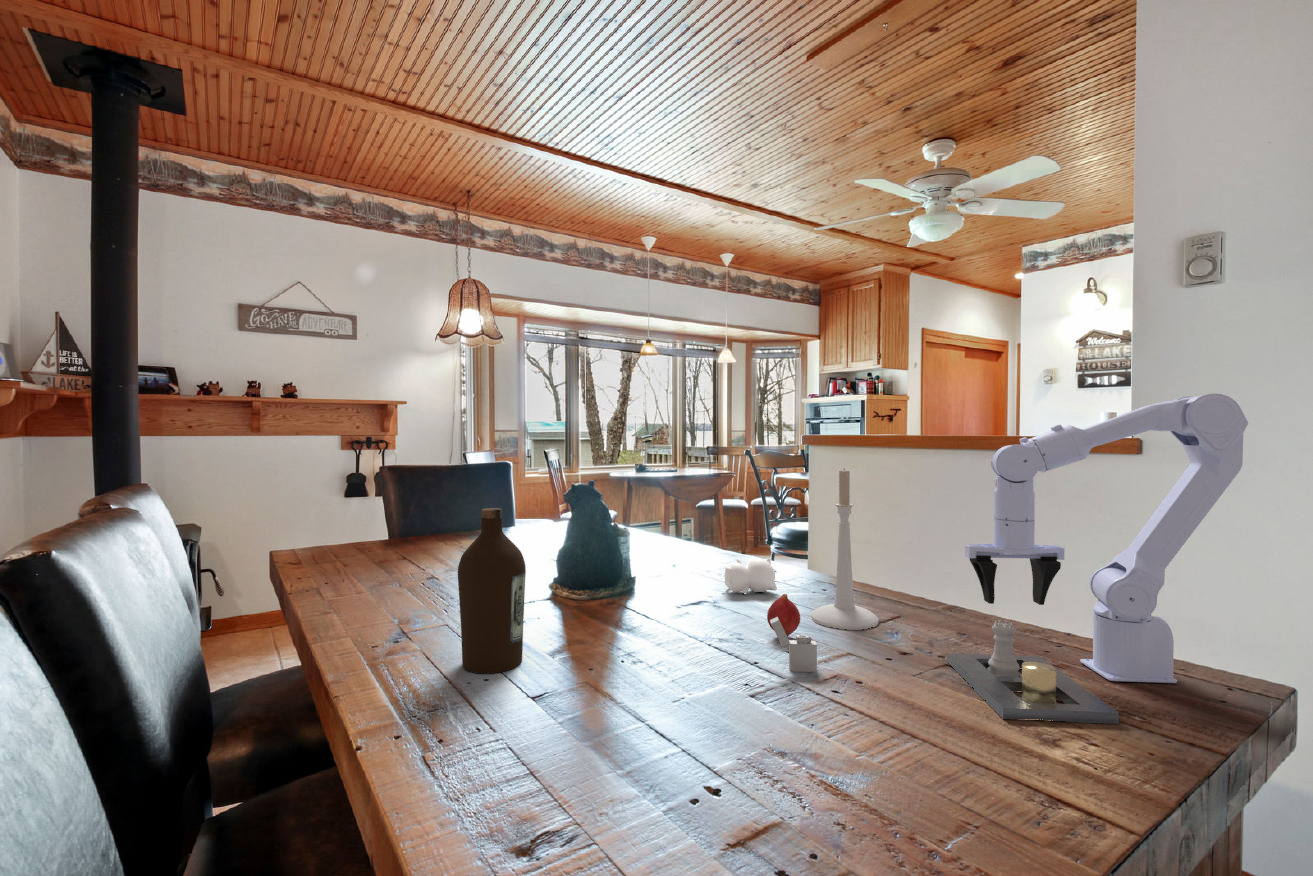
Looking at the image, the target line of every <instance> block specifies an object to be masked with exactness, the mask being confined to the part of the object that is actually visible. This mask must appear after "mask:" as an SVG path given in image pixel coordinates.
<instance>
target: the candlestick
mask: <svg viewBox="0 0 1313 876" xmlns="http://www.w3.org/2000/svg"><path fill="white" fill-rule="evenodd" d="M850 476H851V475H850V470H846V469H845V468H843V470H838V503H835V504H834V505H835V506H836V508H837V514H838V515H839V519H840V520H839V522H838V538H837V539H838V540H837V558H836V575H835V576H836V577H835V595H834V602H833V603H831V604H824V605H822V606H819V607H817V608H815V609H814V610H813V611H812V612H811V613H810V619H811V618H812V619H811V620H812V621H813V622H814V623H815V624H817V623H818V625H820V624H821V625H820V626H823V625H824V626H823V627H827V628H830V627H833V628H832V629H836V628H839V629H838V630H844V629H847V630H846V631H861V630H862V629H864V630H869V629H868V628H870V629H872V628H871V627H873V628H875V627H877V626H879V621H880V619H879V618H878V616H877V615H875V613H873V612H872V611H870V610H869V609H867V608H865V607H861V606H859V605H856V604H855V600H854V583H853V571H852V570H853V567H852V545H851V529H850V527H851V526H850V525H851V523H850V521H849V517H850V515H851V514H852V507H854V504H853V503H851V502H850V500H851V499H850V495H851V494H850V490H851V489H850V483H851V482H850V479H851V478H850Z"/></svg>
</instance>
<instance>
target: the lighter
mask: <svg viewBox="0 0 1313 876" xmlns="http://www.w3.org/2000/svg"><path fill="white" fill-rule="evenodd" d="M770 622H771V625H772V627H773V629H774V630H773V629H772V630H773V632H774V633H775V636H776V637H777V640H778V641H779V643H780V646H781V647H783V648H784V647H785V646H788V669H789V672H808V673H817V672H818V643H817V641H816V640H813V639H812V637H811V636H810V635H807V634H806V635H805V634H803V635H802V634H796V636H795V637H796V639H795V640H794V639H789V636H788V637H787V635H786V633H785V631H784V629H783V627H782V625H781V623H780V621H779V619H778V617H776V618H774V619H771V620H770Z"/></svg>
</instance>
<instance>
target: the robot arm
mask: <svg viewBox="0 0 1313 876" xmlns="http://www.w3.org/2000/svg"><path fill="white" fill-rule="evenodd" d="M1248 424H1249V422H1248V419H1247V417H1246V415H1245V414H1244V412H1243V410H1242V408H1241V406H1240V405H1239V403H1238V402H1237V400H1235V399H1233V398H1232V397H1230V396H1229V395H1226V394H1223V393H1215V392H1213V393H1207V394H1202V395H1196V396H1191V395H1189V396H1188V395H1187V396H1186V395H1185V396H1182V397H1177V398H1176V399H1173V400H1166V401H1160V402H1155V403H1151V404H1148V405H1147V404H1146V405H1144V406H1141V407H1138V408H1136V409H1133V410H1131V411H1128V412H1125V413H1122V414H1120V415H1116V416H1115V417H1112V418H1109V419H1106V420H1104V421H1101V422H1098V423H1096V424H1093V425H1090V426H1087V427H1085V428H1083V429H1082V428H1079V427H1076V426H1074V425H1070V424H1068V425H1067V424H1066V425H1064V426H1062V425H1061V424H1056V425H1053V426H1051V427H1050V431H1048V432H1045V433H1043V434H1039V435H1036V436H1033V437H1031V438H1028V437H1025V436H1024V437H1022V438H1019V443H1020V444H1009V445H1004V446H1001V448H999V449H998V450H997V451H996V452H994V454H993V456H992V460H991V461H990V465H991V469H992V471H993V472H994V474H996V475H995V479H994V486H995V488H994V491H993V542H991V543H978V544H977V543H975V544H974V543H973V544H972V543H971V544H965V545H964V557H966V558H969V562H970V564H971V566H972V567H973V570H974V571H975V573H976V576H977V578H978V581H979V584H980V587H981V591H982V595H983V600H984V602H985V603H988V604H993V605H994V603H995V582H996V581H995V580H996V573H997V568H998V564H997V563H996V562H994V560H993V559H994V558H995V559H1029V562H1030V566H1031V567H1030V568H1031V574H1032V575H1031V576H1032V600H1033V602H1034V603H1036V604H1037V605H1040V606H1044V605H1045V601H1046V598H1047V595H1048V591H1049V589H1050V586H1051V584H1052V582H1053V580H1054V578H1055V577H1056V575H1057V573H1058V572H1059V571H1060V570H1061V568H1062V562H1061V560H1062V561H1064V560H1065V547H1062V546H1060V545H1049V544H1048V545H1047V544H1046V545H1045V544H1035V499H1036V497H1035V494H1036V493H1035V490H1034V477H1035V476H1036V475H1037V473H1038V472H1040V473H1047V472H1049V471H1052V470H1055V469H1058V468H1062V467H1064V466H1067V465H1070V464H1074V463H1076V462H1079V461H1080V462H1081V461H1082V460H1085V459H1086V458H1087V457H1088V456H1089V453H1090V452H1091V450H1092V449H1093V448H1095V447H1099V446H1102V445H1105V444H1108V443H1111V442H1115V441H1119V440H1122V439H1125V438H1129V437H1132V436H1135V435H1139V434H1142V433H1145V432H1148V431H1153V432H1154V431H1155V432H1156V431H1157V432H1170V433H1171V434H1172V435H1173V437H1175V438H1176V439H1177V440H1178V441H1179V442H1180V443H1181V444H1182V446H1183V448H1184V450H1185V452H1186V455H1187V457H1188V460H1189V462H1190V464H1189V465H1188V467H1187V468H1186V469H1185V471H1184V472H1183V473H1182V474H1181V476H1180V477H1179V479H1178V480H1177V482H1175V484H1174V485H1173V487H1172V488H1171V489H1170V491H1169V492H1168V493H1167V495H1166V496H1165V497H1164V499H1162V501H1161V503H1160V504H1159V506H1157V508H1156V509H1155V511H1154V512H1153V514H1152V515H1151V516H1150V518H1149V519H1148V521H1146V523H1145V524H1144V526H1143V527H1142V528H1141V530H1140V531H1139V533H1138V534H1137V535H1136V537H1135V538H1134V539H1133V540H1132V541H1131V543H1130V545H1129V546H1128V547H1127V548H1126V549H1125V550H1123V551H1121V552H1120V553H1118V554H1117V555H1115V556H1114V557H1113V558H1112V560H1111V561H1110V562H1109V563H1108V564H1106V565H1105V566H1102V567H1101V568H1098V569H1097V570H1096V571H1095V572H1093V574H1092V575H1091V577H1090V581H1089V586H1090V587H1089V588H1090V590H1091V593H1092V594H1093V596H1094V597H1095V598H1096V599H1097V601H1096V603H1095V605H1094V606H1093V607H1092V608H1093V609H1092V611H1093V612H1092V658H1080V661H1079V662H1080V663H1081V664H1082V665H1085V666H1086V667H1088V668H1089V669H1091V670H1092V671H1094V672H1095V673H1097V674H1099V675H1100V676H1101V677H1103V678H1105V679H1107V680H1108V681H1110V682H1111V681H1112V682H1134V683H1135V682H1137V683H1163V684H1165V683H1166V684H1178V679H1177V678H1175V677H1174V655H1175V654H1174V652H1175V651H1174V648H1175V647H1174V644H1175V643H1174V641H1175V640H1174V636H1173V632H1172V629H1171V627H1170V625H1169V623H1168V622H1167V621H1166V620H1164V619H1163V618H1162V617H1160V616H1156V615H1152V614H1153V613H1154V611H1155V610H1156V608H1157V605H1158V595H1159V593H1160V591H1161V589H1162V588H1163V586H1164V585H1165V578H1166V577H1165V572H1166V569H1167V567H1168V566H1169V565H1170V563H1171V562H1172V561H1173V559H1174V558H1175V557H1176V556H1177V555H1178V553H1179V551H1180V550H1181V549H1182V547H1183V546H1184V545H1185V543H1186V542H1187V541H1188V540H1189V538H1191V536H1192V534H1193V533H1194V532H1195V531H1196V529H1198V526H1200V525H1201V523H1202V521H1203V520H1204V519H1205V517H1206V516H1207V515H1208V513H1209V512H1210V511H1211V509H1212V508H1213V507H1214V506H1215V504H1216V503H1218V500H1219V499H1220V497H1222V495H1223V494H1224V493H1225V491H1226V490H1227V489H1228V488H1229V486H1230V485H1231V483H1232V482H1233V481H1234V479H1235V478H1236V476H1237V475H1238V474H1239V473H1240V471H1241V470H1242V467H1243V455H1244V454H1243V453H1244V433H1245V431H1246V428H1247V427H1248ZM1059 560H1060V561H1059Z"/></svg>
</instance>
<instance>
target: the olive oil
mask: <svg viewBox="0 0 1313 876" xmlns="http://www.w3.org/2000/svg"><path fill="white" fill-rule="evenodd" d="M502 514H503V509H502V508H499V507H487V508H482V509H481V517H480V529H481V530H480V531H481V532H480V533H479V534H478V536H477V537H476V538H475V539H474V540H473V542H471V544H470V545H469V546H468V547H467V548H466V549H465V550H464V551H463V554H462V555H461V557H460V559H459V563H458V567H457V582H458V583H457V585H458V598H459V599H458V600H459V602H458V603H459V615H460V616H459V617H460V634H461V659H462V660H461V662H462V663H461V664H462V668H463V669H464V670H466V671H467V672H469V673H474V674H481V675H482V674H485V675H486V674H498V673H503V672H507V671H510V670H512V669H515V668H516V667H518V666H519V665H520V664H521V663H522V662H523V651H524V650H523V649H524V648H523V647H524V646H523V644H524V643H523V642H524V640H523V639H524V619H525V617H524V615H525V591H526V590H525V589H526V577H527V576H526V573H527V570H526V563H525V558H524V556H523V552H521V550H520V548H519V547H517V545H515V543H514V542H513V541H512V540H511V539H510V538H509V537H508V536H507V535H506V534H505V533H504V531H503V516H502Z"/></svg>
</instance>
